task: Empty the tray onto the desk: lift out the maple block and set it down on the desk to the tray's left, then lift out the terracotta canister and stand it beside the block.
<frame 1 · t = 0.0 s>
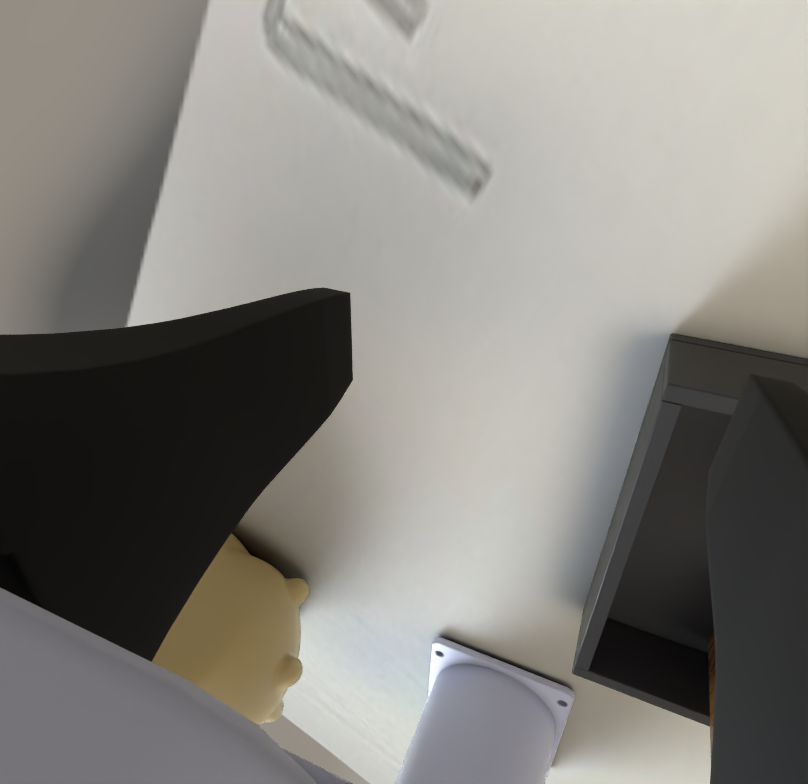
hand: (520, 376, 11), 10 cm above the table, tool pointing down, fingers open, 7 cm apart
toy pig: (264, 571, 37), on the table
block: (789, 628, 23), resting on tray
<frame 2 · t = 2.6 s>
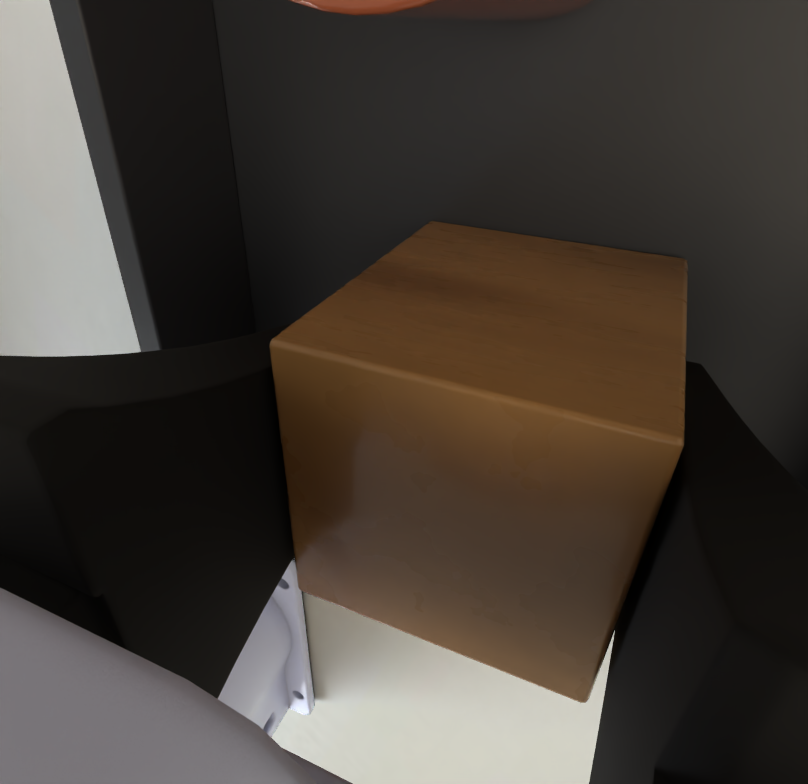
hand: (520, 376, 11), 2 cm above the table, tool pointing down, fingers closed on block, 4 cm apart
block: (531, 350, 11), resting on tray, touching gripper
tray: (543, 139, 10), on the table
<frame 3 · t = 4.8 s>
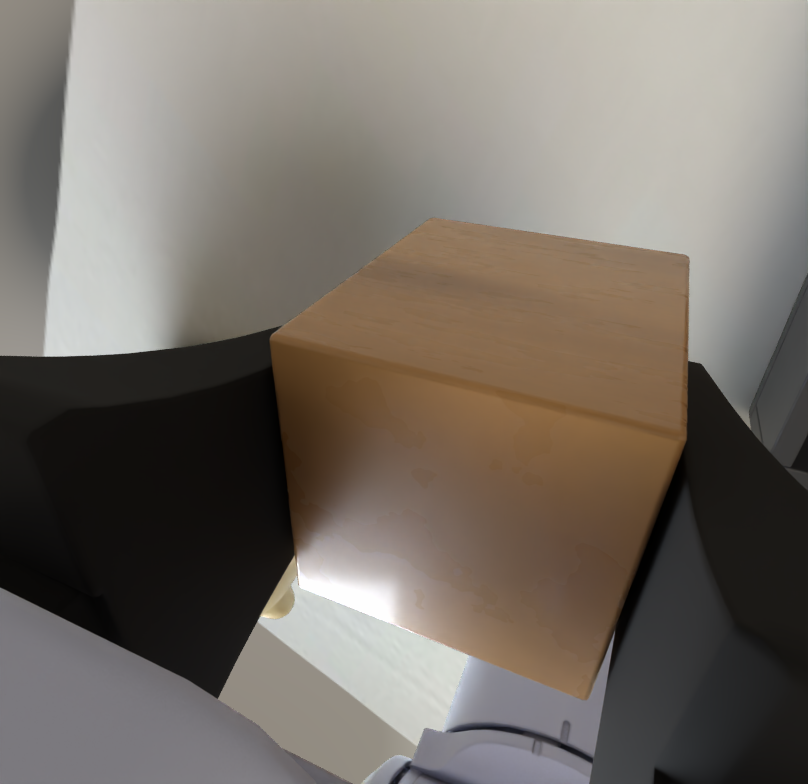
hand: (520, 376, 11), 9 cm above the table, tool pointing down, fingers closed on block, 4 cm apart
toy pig: (267, 433, 28), on the table
block: (532, 347, 11), point 8 cm above the table, touching gripper
when the fingers open (1 cm above the table, at t = 7.3 s): block stays where it is, on the table.
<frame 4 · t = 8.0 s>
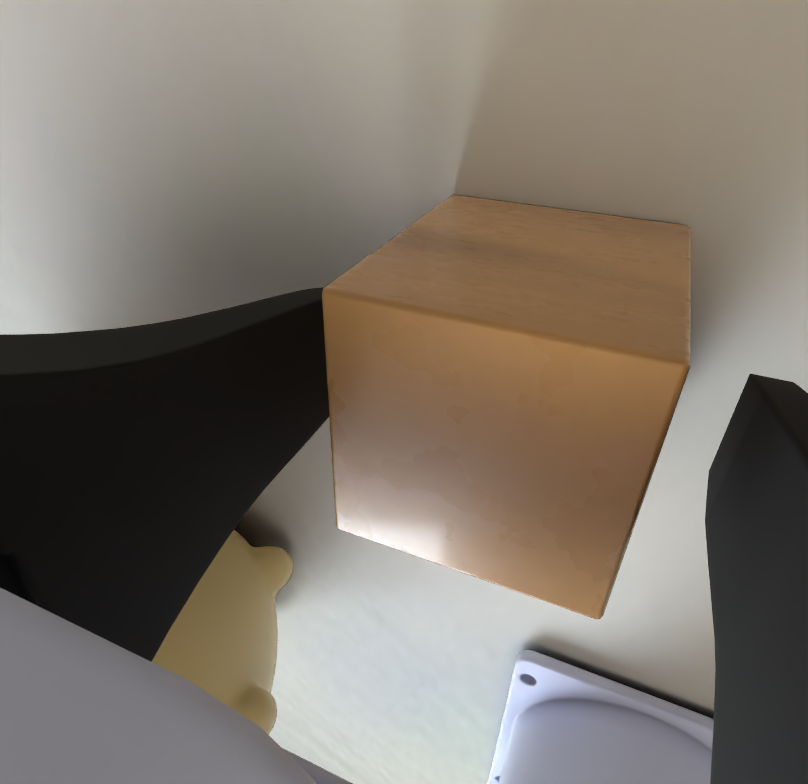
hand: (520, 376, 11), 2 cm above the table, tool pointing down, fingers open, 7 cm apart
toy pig: (220, 538, 23), on the table
block: (545, 315, 12), on the table
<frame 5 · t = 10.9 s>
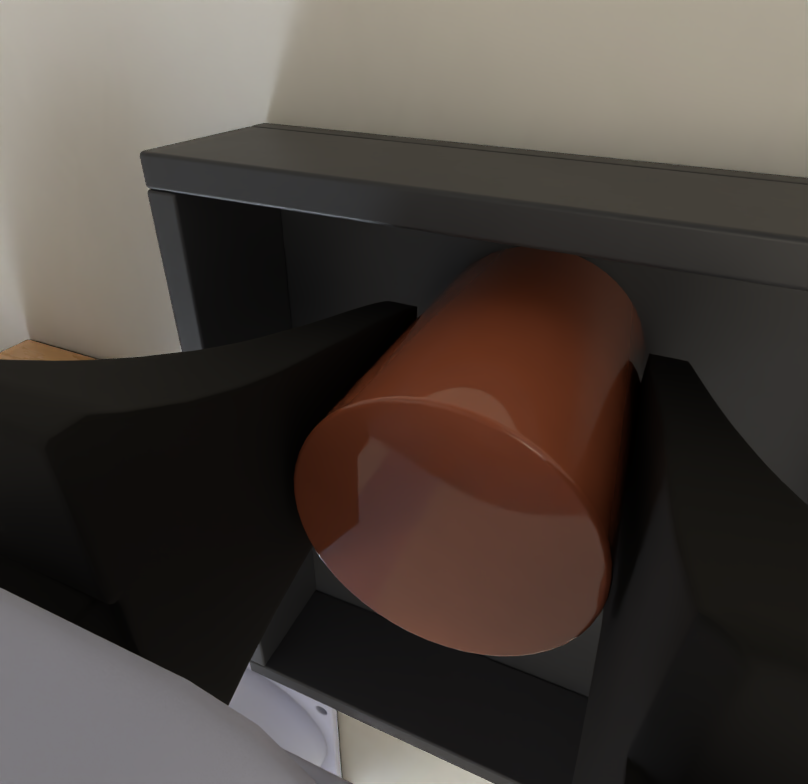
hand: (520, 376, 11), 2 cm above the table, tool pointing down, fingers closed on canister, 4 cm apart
block: (97, 410, 20), on the table
canister: (532, 348, 11), point 1 cm above the table, touching tray, gripper
tray: (535, 481, 14), on the table
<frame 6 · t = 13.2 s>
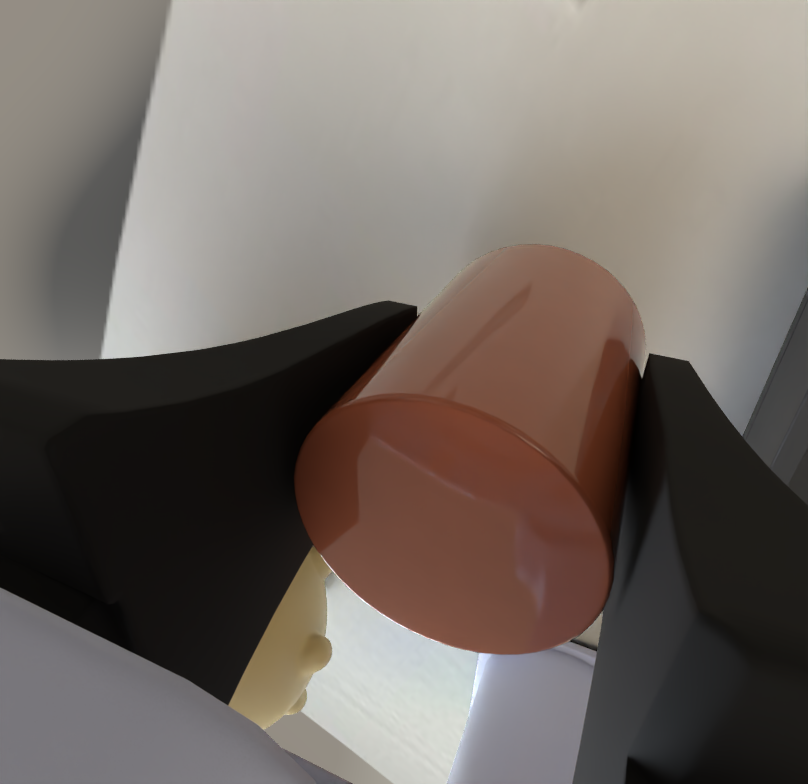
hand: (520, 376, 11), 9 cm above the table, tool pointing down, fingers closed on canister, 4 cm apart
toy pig: (282, 541, 32), on the table
canister: (533, 346, 11), point 8 cm above the table, touching gripper
when the fingers open (1 cm above the table, at t = 15.5 s): canister stays where it is, on the table.
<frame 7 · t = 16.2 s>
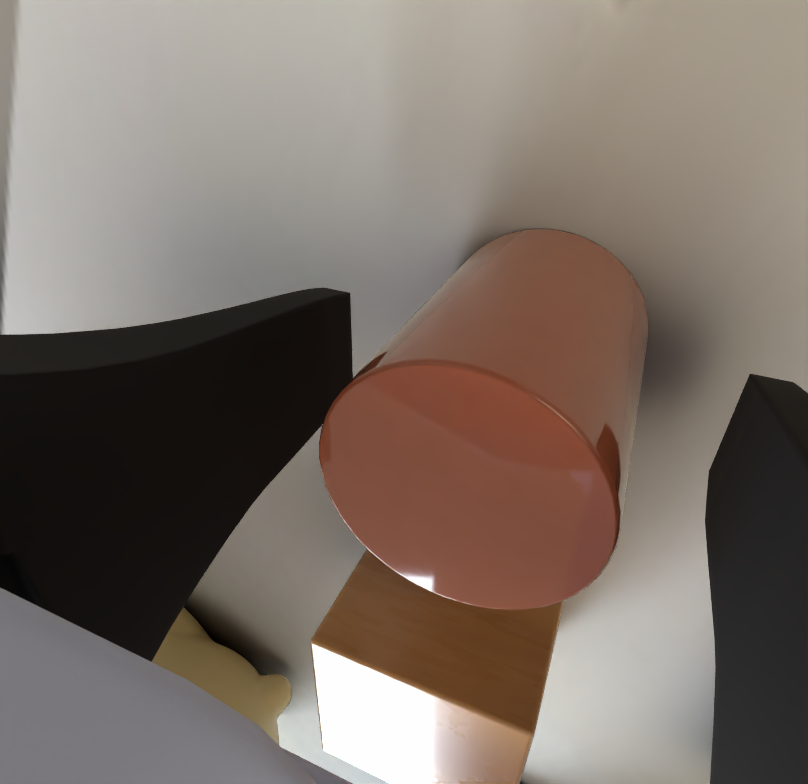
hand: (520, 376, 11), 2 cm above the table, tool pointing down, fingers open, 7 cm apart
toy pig: (230, 654, 27), on the table
block: (482, 559, 16), on the table
canister: (540, 328, 12), on the table
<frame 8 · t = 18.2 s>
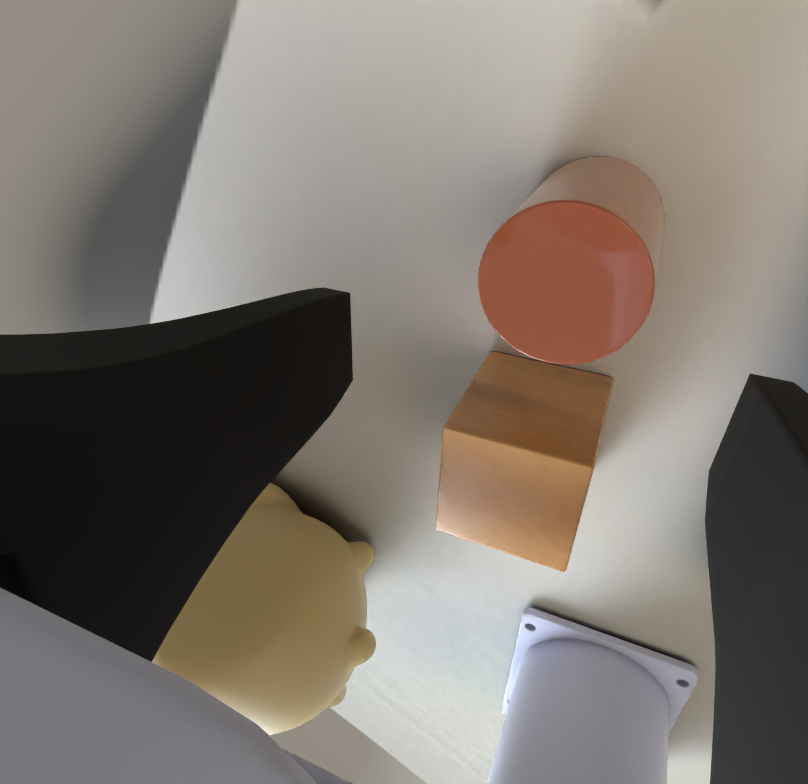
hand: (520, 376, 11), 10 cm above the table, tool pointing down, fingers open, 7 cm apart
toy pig: (317, 536, 33), on the table
block: (540, 413, 22), on the table
canister: (592, 226, 18), on the table
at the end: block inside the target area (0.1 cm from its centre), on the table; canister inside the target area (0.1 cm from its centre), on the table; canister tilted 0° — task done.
